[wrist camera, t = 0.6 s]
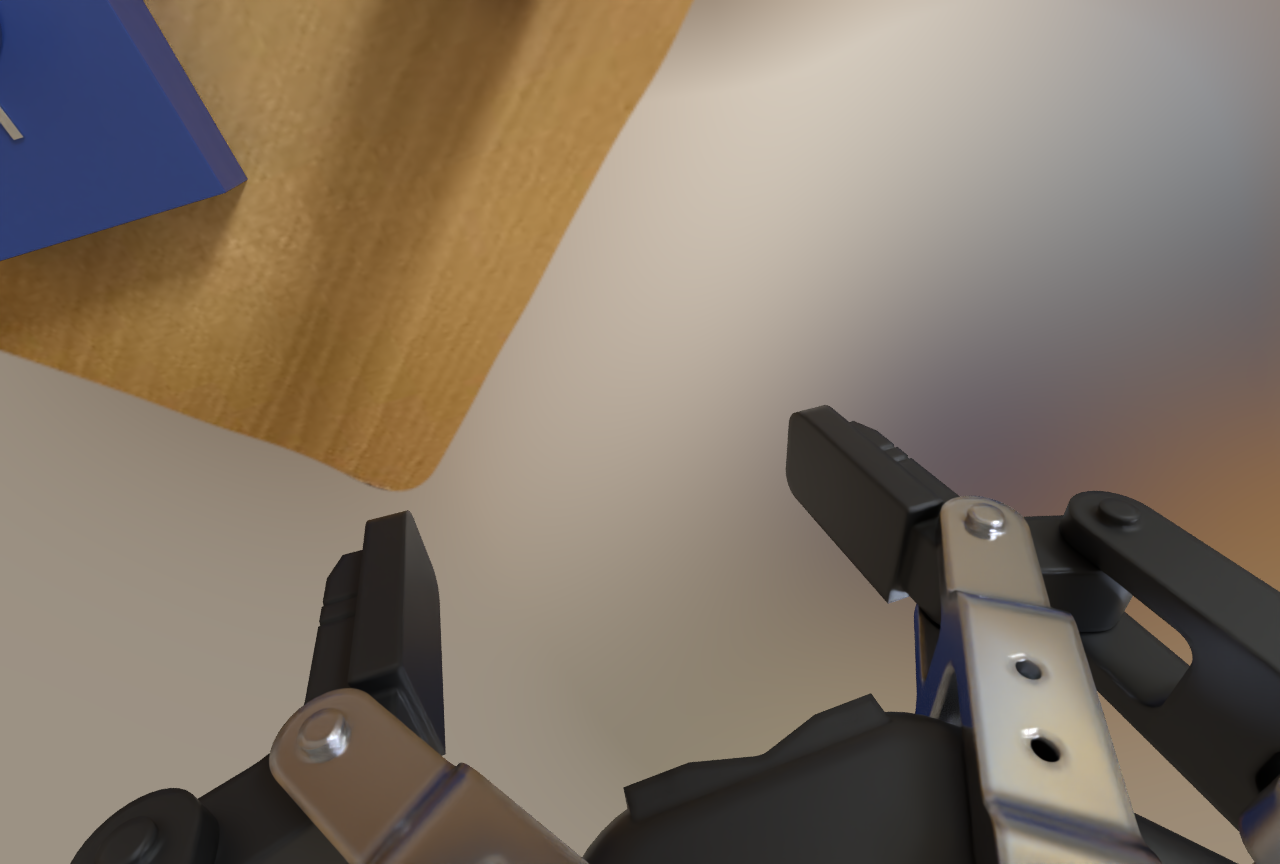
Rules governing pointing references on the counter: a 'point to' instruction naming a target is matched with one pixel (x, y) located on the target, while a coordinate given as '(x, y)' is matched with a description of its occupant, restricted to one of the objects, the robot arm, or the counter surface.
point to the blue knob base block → (97, 123)
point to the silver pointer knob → (0, 35)
